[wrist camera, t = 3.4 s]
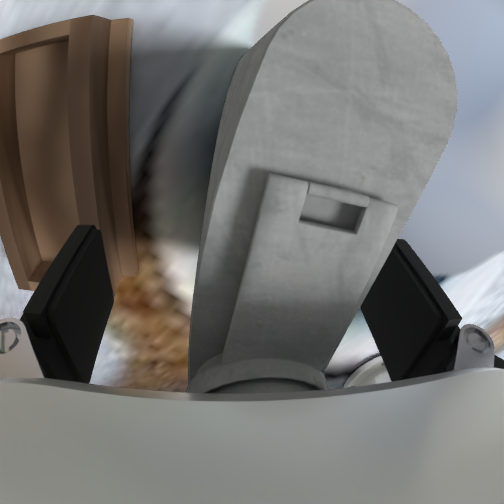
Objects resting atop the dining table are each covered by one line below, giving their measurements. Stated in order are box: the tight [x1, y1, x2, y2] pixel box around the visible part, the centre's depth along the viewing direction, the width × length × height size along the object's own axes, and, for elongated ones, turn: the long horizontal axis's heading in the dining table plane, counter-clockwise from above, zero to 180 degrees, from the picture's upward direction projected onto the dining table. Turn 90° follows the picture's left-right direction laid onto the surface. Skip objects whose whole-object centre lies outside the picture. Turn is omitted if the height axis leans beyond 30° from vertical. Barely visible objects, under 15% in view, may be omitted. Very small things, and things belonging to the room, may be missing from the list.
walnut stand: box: [0, 15, 139, 296], centre depth 18 cm, size 12×20×4 cm, turn 174°
